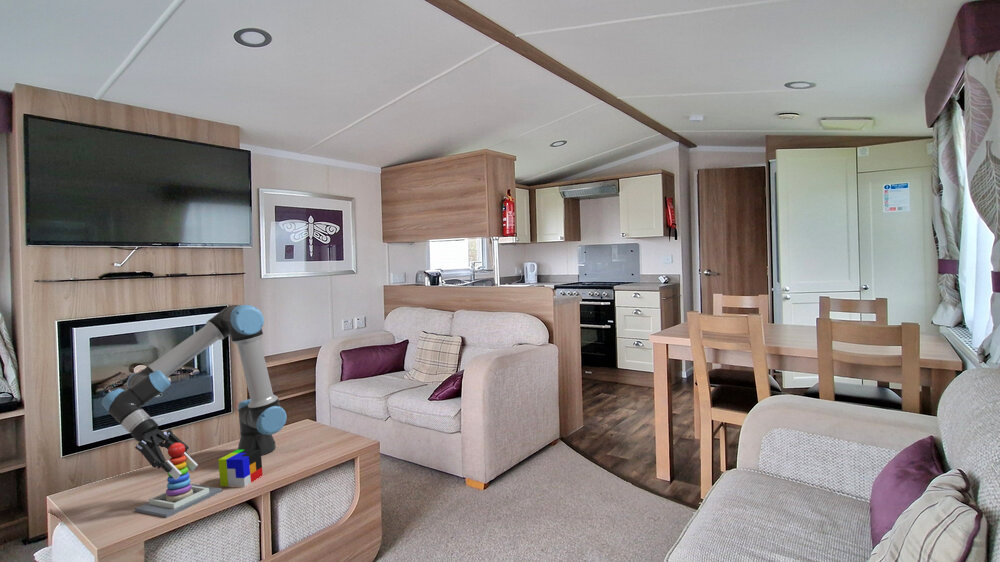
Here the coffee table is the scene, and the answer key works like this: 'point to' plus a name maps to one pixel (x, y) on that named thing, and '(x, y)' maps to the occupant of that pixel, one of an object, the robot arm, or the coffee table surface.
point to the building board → (166, 508)
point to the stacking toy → (182, 484)
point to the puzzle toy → (240, 468)
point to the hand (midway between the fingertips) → (187, 472)
